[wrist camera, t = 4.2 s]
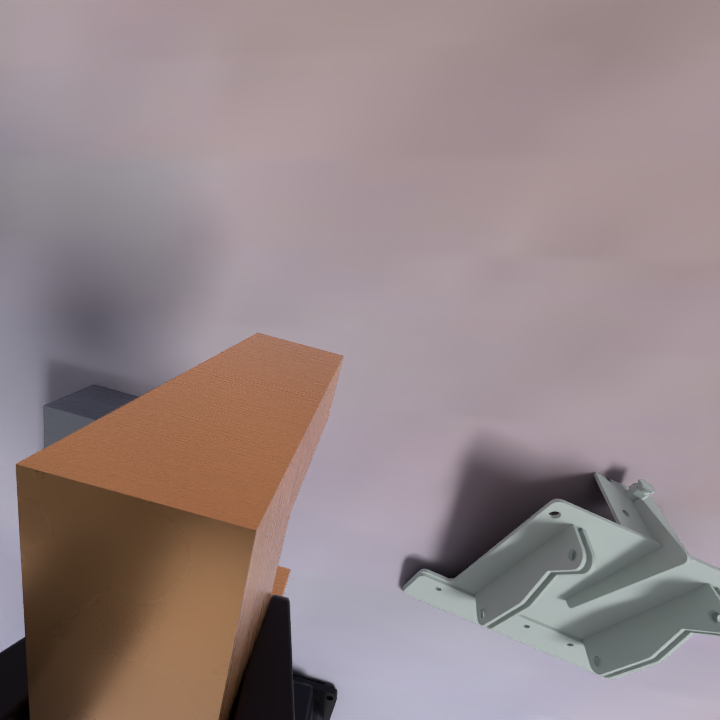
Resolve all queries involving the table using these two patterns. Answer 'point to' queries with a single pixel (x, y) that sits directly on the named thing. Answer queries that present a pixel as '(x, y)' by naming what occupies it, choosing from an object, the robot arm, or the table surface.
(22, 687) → the robot arm
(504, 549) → the metal bracket
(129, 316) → the table surface
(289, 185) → the table surface
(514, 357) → the table surface
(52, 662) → the clip
